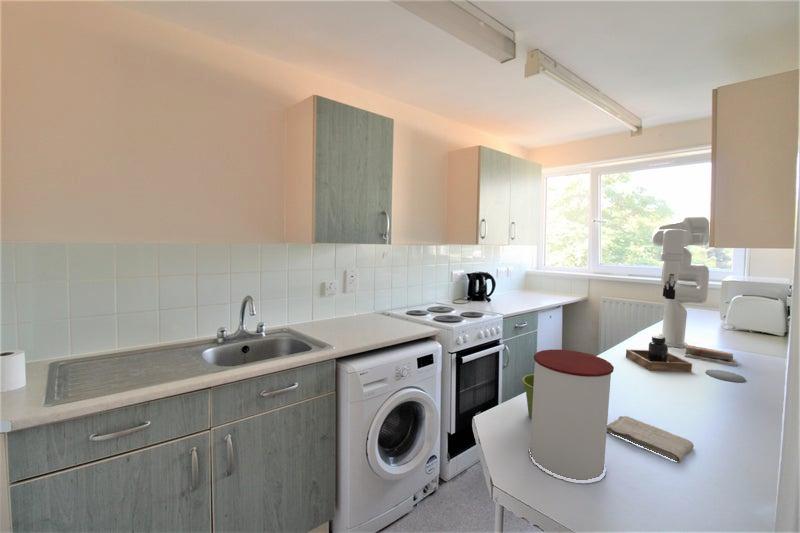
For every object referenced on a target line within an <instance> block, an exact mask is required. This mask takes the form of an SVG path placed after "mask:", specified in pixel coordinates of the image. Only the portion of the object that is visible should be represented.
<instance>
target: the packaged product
mask: <svg viewBox="0 0 800 533" xmlns="http://www.w3.org/2000/svg"><path fill="white" fill-rule="evenodd" d="M685 348H686V349H685V353H684V358H689V357H690V359H695V360H699V359H700V360H699V361H704V362H705V361H706V362H711V363H715V364H716V363H717V364H720V365H726V366H732V367H737V363H738V359H736V358H734V354H733V353H732V352H727V351H723V350H717V349H712V348H706V347H700V346H694V345H689V344H688V347H685Z"/></svg>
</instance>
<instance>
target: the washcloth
mask: <svg viewBox="0 0 800 533" xmlns="http://www.w3.org/2000/svg"><path fill="white" fill-rule="evenodd" d="M607 432H609V433H612V434H614V435H617V436H620V437H622V438H624V439H627V440H629V441H631V442H633V443H635V444H638V445H640V446H643V447H644V448H647V449H649V450H652V451H654V452H656V453H659V454H661V455H663V456H666V457H668V458H670V459H673V460H675V461H677V462H678V463H681V462H682V461H683V460H684V458H685V456H686V455H688V454H689V453H691V451H693V449H694V443H693V442H692V441H690V440H689V439H686V438H684V437H682V436H679V435H676V434H673V433H671V432H669V431H666V429H665V430H664V429H662V428H659V427H656V426H654V425H651V424H648V423H646V422H643V421H641V420H637V419H635V418H633V417H630V416H627V415H624V416H618V418H617V419H615V420H614V421H611V422H610V423H609V424H607ZM609 433H608V434H609Z"/></svg>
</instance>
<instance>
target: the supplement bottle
mask: <svg viewBox="0 0 800 533" xmlns="http://www.w3.org/2000/svg"><path fill="white" fill-rule="evenodd" d="M668 349H669V346H667V345H666V344H665V337H661V336H659V335H652V336H651V341H650V342H649V343H648V349H647V350H648V358H647V360H649V361H651V362H668V361H667V352H668V353H669V350H668Z"/></svg>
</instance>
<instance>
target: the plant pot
mask: <svg viewBox="0 0 800 533" xmlns="http://www.w3.org/2000/svg"><path fill="white" fill-rule="evenodd" d="M521 381H522V383H523V384H524V390H525V395H526V396H525V397H526V403H527V413H528V417H529V418H530V417H531V418H532V404H533V386H534V373H532V374H527V375H524V376H523V377H522V378H521ZM531 418H530V419H531Z"/></svg>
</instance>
